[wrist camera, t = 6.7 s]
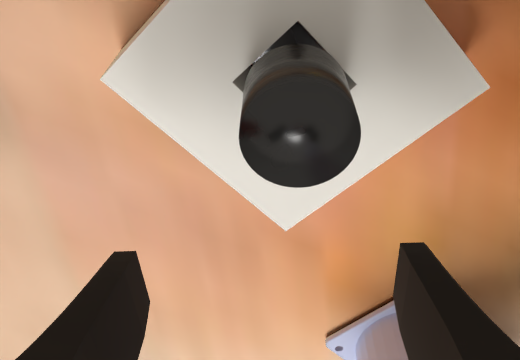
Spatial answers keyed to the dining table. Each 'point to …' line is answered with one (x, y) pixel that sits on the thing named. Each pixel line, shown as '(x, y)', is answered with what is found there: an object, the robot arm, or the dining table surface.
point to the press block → (255, 44)
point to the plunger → (298, 113)
